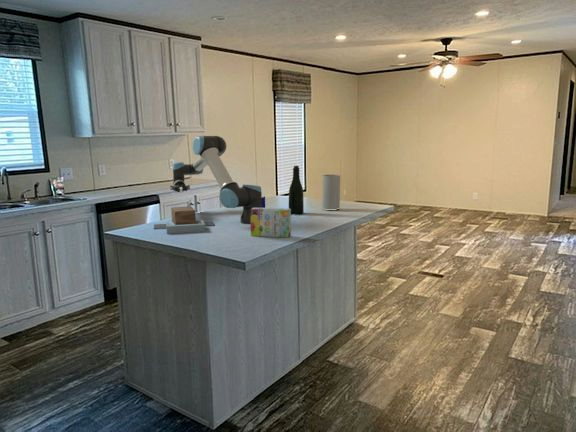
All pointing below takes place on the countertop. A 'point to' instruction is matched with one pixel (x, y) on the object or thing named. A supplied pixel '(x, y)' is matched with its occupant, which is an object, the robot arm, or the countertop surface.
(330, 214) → the countertop surface
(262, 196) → the puzzle cube
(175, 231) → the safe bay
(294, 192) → the beer bottle
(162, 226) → the mats
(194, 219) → the walnut block
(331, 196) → the cylinder vase
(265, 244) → the countertop surface
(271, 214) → the snack box
